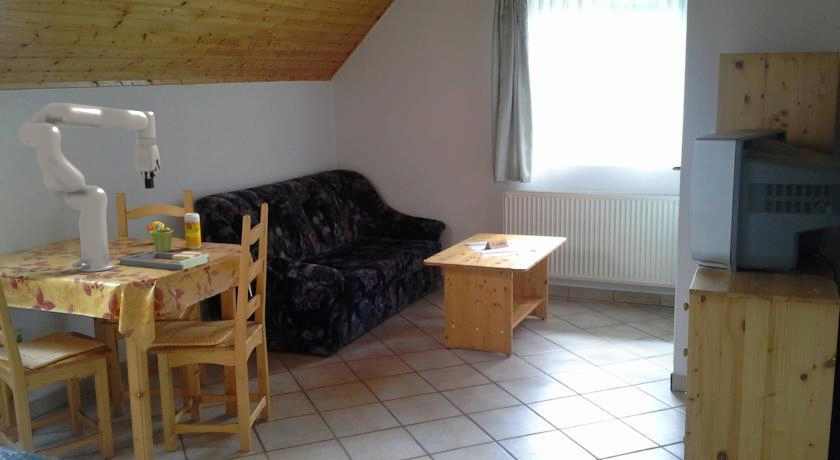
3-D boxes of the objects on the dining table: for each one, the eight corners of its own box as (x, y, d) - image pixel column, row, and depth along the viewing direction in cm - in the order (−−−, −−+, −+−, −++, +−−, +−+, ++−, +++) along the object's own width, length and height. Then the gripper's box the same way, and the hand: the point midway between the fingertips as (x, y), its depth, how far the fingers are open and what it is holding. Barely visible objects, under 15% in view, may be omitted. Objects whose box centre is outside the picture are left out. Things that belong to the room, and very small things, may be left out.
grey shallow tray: (181, 270, 287) (180, 262, 286) (119, 263, 298) (119, 256, 298) (209, 261, 301) (208, 254, 301) (149, 255, 313) (149, 248, 313)
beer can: (184, 249, 326) (182, 214, 323) (189, 247, 332) (187, 212, 329) (198, 249, 326) (196, 214, 323) (203, 247, 332) (201, 212, 329)
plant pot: (159, 254, 316) (158, 233, 315) (146, 251, 322) (145, 231, 321) (179, 250, 324) (177, 230, 322) (165, 248, 329) (164, 228, 328)
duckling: (151, 246, 335) (149, 223, 333) (144, 244, 338) (143, 222, 337) (174, 242, 343) (173, 220, 342) (167, 240, 347) (166, 219, 345)
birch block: (190, 266, 294) (190, 256, 293) (172, 265, 296) (172, 255, 295) (202, 262, 301) (201, 252, 300) (184, 261, 304) (184, 251, 303)
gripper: (125, 142, 305) (128, 188, 308) (153, 143, 298) (156, 190, 301) (139, 141, 311) (142, 186, 314) (167, 142, 305) (170, 188, 308)
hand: (149, 188), depth 308 cm, fingers closed
